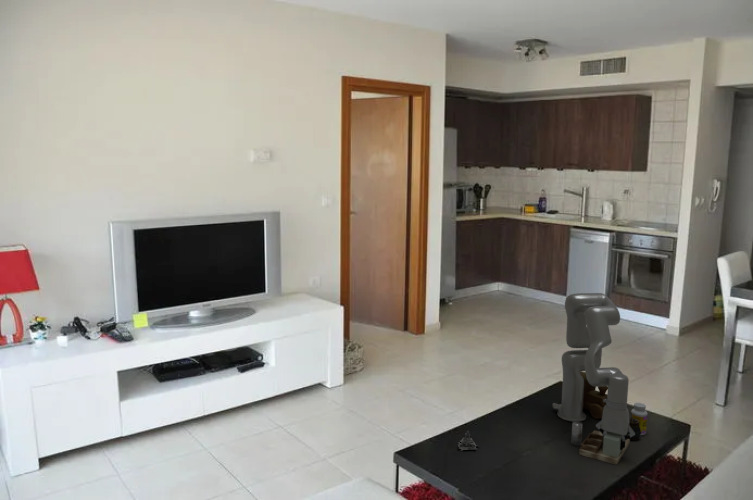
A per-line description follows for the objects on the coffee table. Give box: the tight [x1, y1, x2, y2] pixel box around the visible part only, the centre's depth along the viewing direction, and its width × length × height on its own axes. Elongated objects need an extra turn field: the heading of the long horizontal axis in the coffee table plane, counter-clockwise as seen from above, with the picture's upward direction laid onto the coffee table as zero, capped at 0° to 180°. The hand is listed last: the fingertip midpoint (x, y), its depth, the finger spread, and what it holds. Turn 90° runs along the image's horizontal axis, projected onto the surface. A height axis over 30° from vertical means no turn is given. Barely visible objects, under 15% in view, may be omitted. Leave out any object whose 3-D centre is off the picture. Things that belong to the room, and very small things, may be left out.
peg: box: [570, 421, 583, 447], centre depth 258 cm, size 4×4×9 cm
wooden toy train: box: [580, 371, 608, 420], centre depth 289 cm, size 20×11×17 cm, turn 36°
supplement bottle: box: [630, 402, 648, 436], centre depth 268 cm, size 7×7×13 cm
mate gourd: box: [626, 411, 641, 441], centre depth 263 cm, size 7×8×10 cm
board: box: [578, 429, 631, 465], centre depth 253 cm, size 15×22×4 cm
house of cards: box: [457, 430, 477, 451], centre depth 255 cm, size 9×9×8 cm
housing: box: [603, 432, 622, 458], centre depth 248 cm, size 6×12×7 cm, turn 145°
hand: (613, 446), depth 248 cm, fingers closed on housing, 5 cm apart
